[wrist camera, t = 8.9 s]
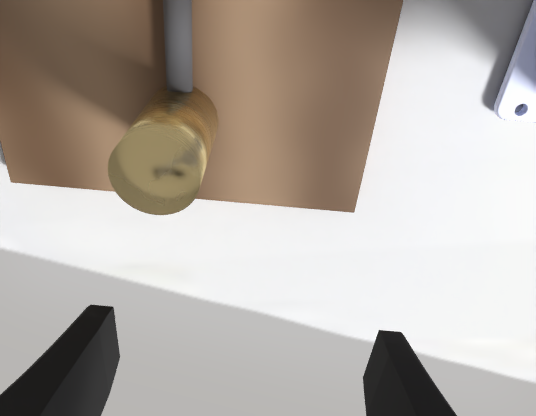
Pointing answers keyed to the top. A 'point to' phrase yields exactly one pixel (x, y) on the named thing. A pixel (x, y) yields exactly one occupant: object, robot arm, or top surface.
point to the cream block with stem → (167, 131)
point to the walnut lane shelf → (209, 82)
